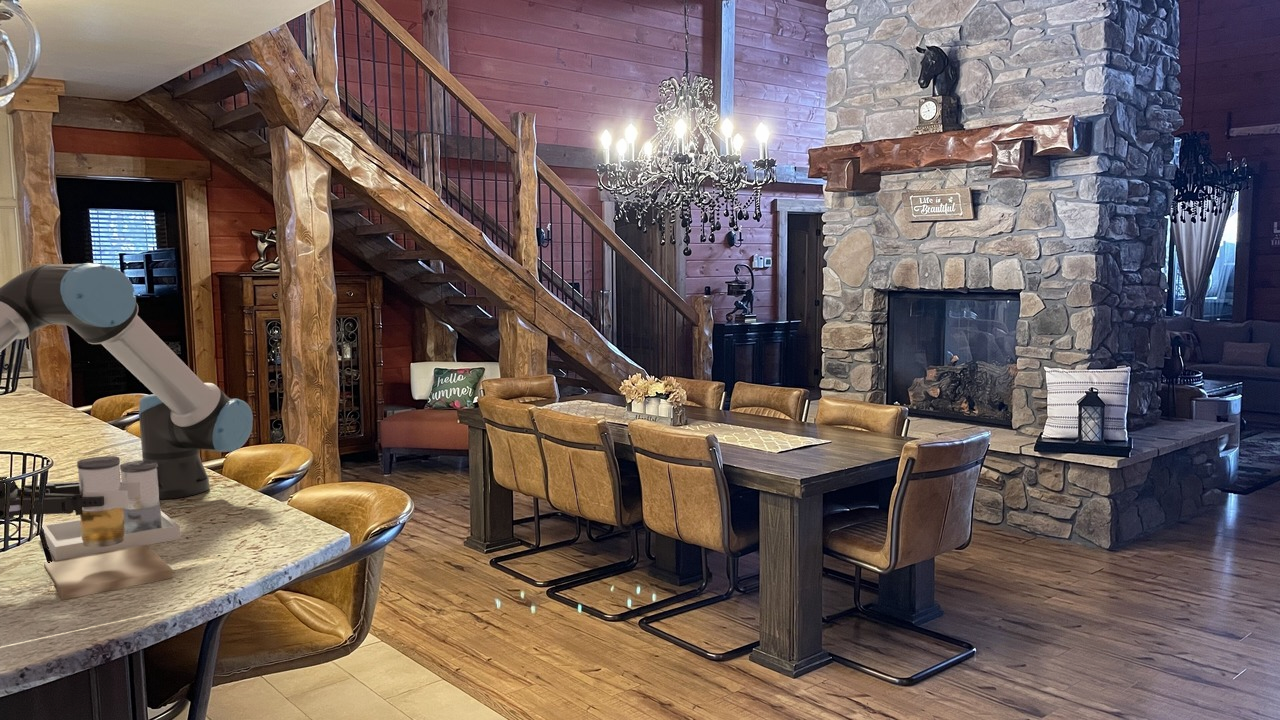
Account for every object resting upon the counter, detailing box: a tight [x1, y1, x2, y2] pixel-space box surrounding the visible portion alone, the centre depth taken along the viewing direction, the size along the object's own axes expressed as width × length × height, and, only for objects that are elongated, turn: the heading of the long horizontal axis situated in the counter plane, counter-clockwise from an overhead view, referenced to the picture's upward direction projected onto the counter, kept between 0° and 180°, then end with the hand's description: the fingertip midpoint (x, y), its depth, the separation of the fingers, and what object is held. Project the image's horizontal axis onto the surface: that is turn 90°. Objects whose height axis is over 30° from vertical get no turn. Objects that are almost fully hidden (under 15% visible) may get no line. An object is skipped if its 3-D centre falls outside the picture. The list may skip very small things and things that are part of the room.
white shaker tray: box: [42, 510, 181, 561], centre depth 180 cm, size 20×18×4 cm
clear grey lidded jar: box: [119, 459, 162, 534], centre depth 180 cm, size 6×6×14 cm
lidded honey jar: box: [76, 455, 125, 548], centre depth 161 cm, size 6×6×14 cm
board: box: [43, 545, 174, 601], centre depth 163 cm, size 16×18×2 cm
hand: (133, 494), depth 162 cm, fingers closed on lidded honey jar, 6 cm apart
